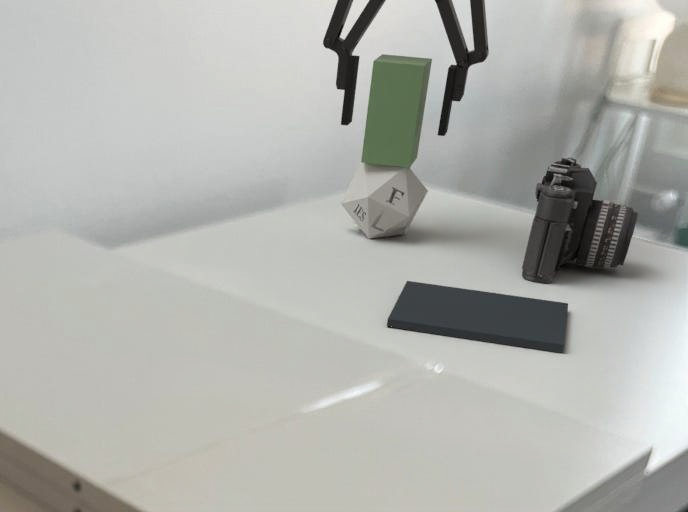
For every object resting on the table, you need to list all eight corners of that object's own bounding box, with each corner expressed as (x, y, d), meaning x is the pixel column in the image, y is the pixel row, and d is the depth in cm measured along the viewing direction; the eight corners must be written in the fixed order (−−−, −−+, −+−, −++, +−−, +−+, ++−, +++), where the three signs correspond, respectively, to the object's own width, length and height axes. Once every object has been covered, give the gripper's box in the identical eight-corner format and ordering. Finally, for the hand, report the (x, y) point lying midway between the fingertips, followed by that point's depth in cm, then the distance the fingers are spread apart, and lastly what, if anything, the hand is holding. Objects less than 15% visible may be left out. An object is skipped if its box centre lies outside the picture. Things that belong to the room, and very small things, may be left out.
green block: (417, 157, 118) (432, 58, 112) (410, 167, 114) (425, 65, 108) (369, 152, 119) (382, 54, 113) (361, 162, 115) (373, 60, 109)
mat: (566, 311, 102) (568, 303, 101) (562, 353, 93) (564, 344, 92) (405, 288, 105) (406, 280, 105) (386, 326, 96) (387, 318, 96)
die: (325, 239, 121) (365, 178, 112) (339, 184, 124) (378, 121, 115) (389, 268, 123) (433, 211, 114) (401, 213, 126) (444, 154, 117)
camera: (620, 294, 107) (649, 193, 101) (513, 279, 109) (536, 179, 103) (622, 257, 118) (648, 163, 112) (525, 244, 120) (546, 152, 114)
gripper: (307, -127, 101) (287, 123, 114) (544, -114, 96) (494, 146, 109) (323, -126, 106) (302, 111, 120) (548, -114, 102) (499, 133, 115)
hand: (393, 128), depth 115 cm, fingers open, 10 cm apart
